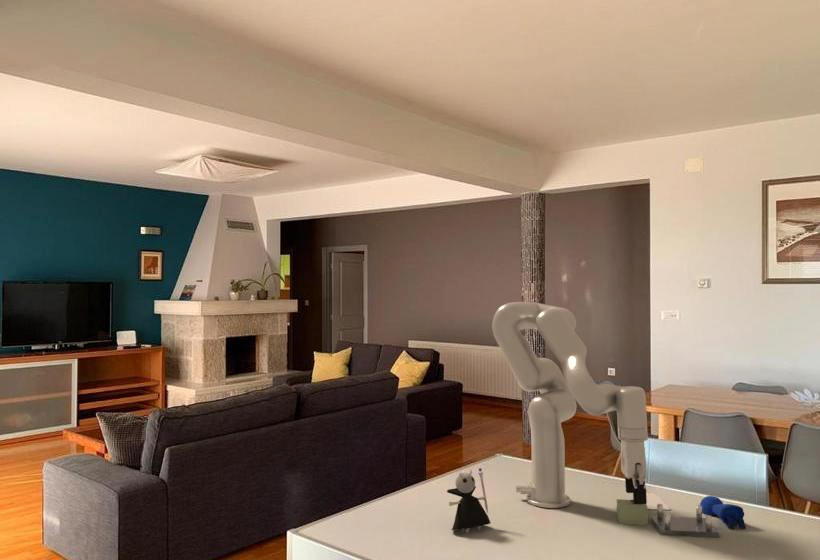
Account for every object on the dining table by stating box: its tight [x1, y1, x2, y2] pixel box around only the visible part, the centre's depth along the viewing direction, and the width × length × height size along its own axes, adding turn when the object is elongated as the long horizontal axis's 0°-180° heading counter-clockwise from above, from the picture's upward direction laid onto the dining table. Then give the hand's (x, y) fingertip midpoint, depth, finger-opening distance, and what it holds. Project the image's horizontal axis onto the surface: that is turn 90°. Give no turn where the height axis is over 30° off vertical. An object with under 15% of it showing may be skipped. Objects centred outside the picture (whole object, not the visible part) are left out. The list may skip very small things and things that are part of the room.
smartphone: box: [646, 492, 672, 512], centre depth 184 cm, size 7×1×15 cm
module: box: [616, 498, 649, 525], centre depth 169 cm, size 7×4×5 cm, turn 82°
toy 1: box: [446, 467, 492, 533], centre depth 164 cm, size 12×7×15 cm, turn 117°
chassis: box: [650, 504, 720, 538], centre depth 163 cm, size 14×10×5 cm
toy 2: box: [699, 495, 747, 530], centre depth 170 cm, size 7×6×15 cm
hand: (636, 498), depth 168 cm, fingers open, 9 cm apart
